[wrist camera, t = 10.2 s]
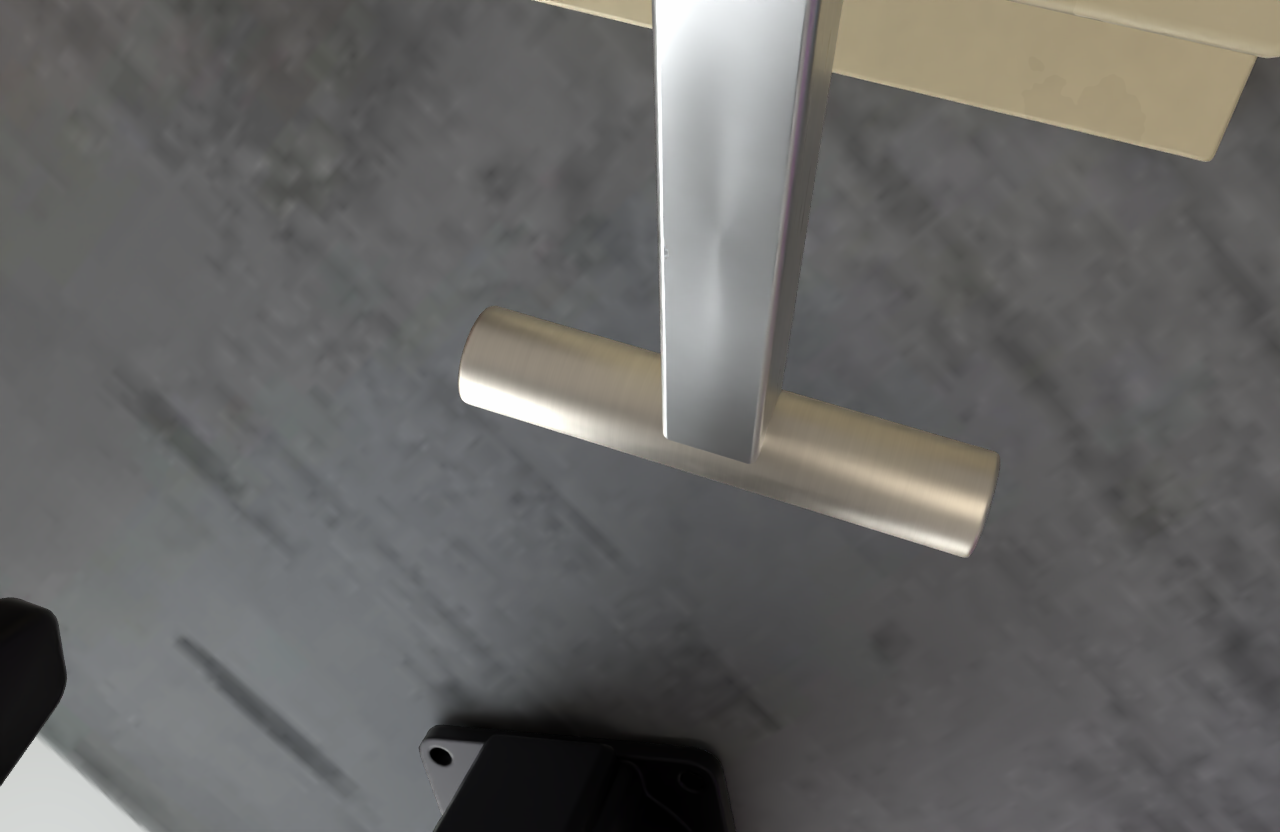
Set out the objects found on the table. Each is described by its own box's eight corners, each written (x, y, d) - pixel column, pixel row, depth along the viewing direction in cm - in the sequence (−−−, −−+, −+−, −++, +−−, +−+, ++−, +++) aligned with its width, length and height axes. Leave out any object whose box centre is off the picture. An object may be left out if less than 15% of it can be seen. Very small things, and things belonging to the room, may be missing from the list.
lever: (995, 437, 14) (949, 624, 13) (523, 300, 15) (445, 462, 14) (2005, -1489, 3) (2199, -1304, 2) (145, -1487, 4) (-289, -1361, 3)
